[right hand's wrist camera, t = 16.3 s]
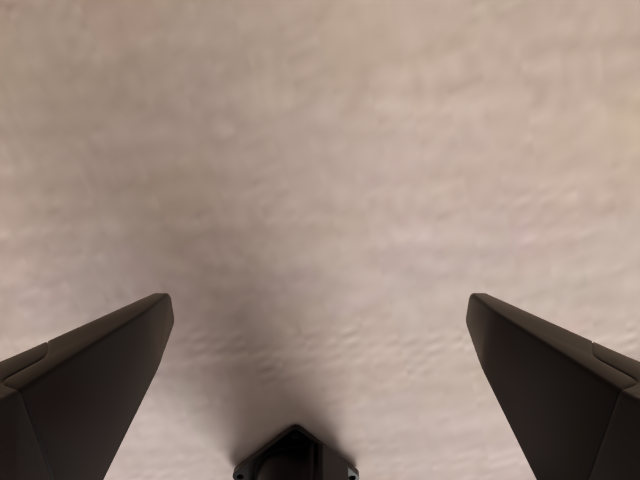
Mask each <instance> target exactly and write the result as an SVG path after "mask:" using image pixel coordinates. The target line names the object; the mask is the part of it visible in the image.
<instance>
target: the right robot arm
mask: <svg viewBox="0 0 640 480" xmlns="http://www.w3.org/2000/svg"><path fill="white" fill-rule="evenodd" d="M173 323H174V316H173V309H172V303H171V298H170V295H169V294H167V293H155V294H152V295H150V296H148V297H145V298H143V299H141V300H139V301H136V302H134V303H132V304H130V305H128V306H125V307H123V308H121V309H119V310H116V311H114V312H112V313H110V314H108V315H105V316H103V317H101V318H99V319H96V320H94V321H92V322H90V323H88V324H85V325H83V326H81V327H79V328H76V329H74V330H72V331H70V332H67V333H65V334H63V335H61V336H59V337H56V338H54V339H52V340H50V341H48V343H47V342H45V343H43V344H41V345H38V346H36V347H34V348H32V349H29V350H27V351H25V352H23V353H20V354H18V355H16V356H13V357H11V358H8V359H6V360H4V361H1V362H0V480H103V479H104V477H105V475H106V473H107V471H108V469H109V467H110V465H111V463H112V461H113V459H114V457H115V455H116V453H117V451H118V449H119V447H120V445H121V442H122V440H123V438H124V436H125V434H126V432H127V430H128V428H129V426H130V424H131V422H132V420H133V418H134V416H135V414H136V412H137V410H138V408H139V406H140V404H141V402H142V400H143V398H144V396H145V394H146V392H147V390H148V388H149V386H150V383H151V381H152V379H153V377H154V375H155V373H156V371H157V369H158V367H159V364H160V361H161V359H162V356H163V353H164V350H165V347H166V344H167V341H168V339H169V336H170V333H171V330H172V327H173ZM466 323H467V327H468V330H469V333H470V336H471V339H472V341H473V344H474V347H475V350H476V353H477V356H478V359H479V361H480V364H481V367H482V369H483V371H484V373H485V375H486V377H487V379H488V381H489V383H490V386H491V388H492V390H493V392H494V394H495V396H496V398H497V400H498V402H499V404H500V406H501V408H502V410H503V412H504V414H505V416H506V418H507V420H508V422H509V424H510V426H511V428H512V430H513V432H514V434H515V436H516V438H517V440H518V443H519V445H520V447H521V449H522V451H523V453H524V455H525V457H526V459H527V461H528V463H529V465H530V467H531V469H532V471H533V473H534V475H535V477H536V479H537V480H640V362H639V361H636V360H634V359H632V358H629V357H627V356H624V355H622V354H620V353H617V352H615V351H613V350H611V349H608V348H606V347H604V346H602V345H599V344H597V343H595V342H593V343H592V341H590V340H588V339H586V338H584V337H581V336H579V335H577V334H575V333H573V332H570V331H568V330H566V329H564V328H561V327H559V326H557V325H555V324H552V323H550V322H548V321H546V320H544V319H541V318H539V317H537V316H535V315H532V314H530V313H528V312H526V311H524V310H521V309H519V308H517V307H515V306H512V305H510V304H508V303H506V302H504V301H501V300H499V299H497V298H495V297H492V296H490V295H488V294H485V293H473V294H471V295H470V298H469V303H468V309H467V316H466ZM233 479H234V480H359V472H358V470H357V469H356V468H355V467H353V466H352V465H351V464H350V463H348V462H347V461H346V460H344V459H343V458H342V457H340V456H339V455H338V454H337V453H335V452H334V451H333V450H331V449H330V448H329V447H327V446H326V445H325V444H324V443H322V442H321V441H320V440H318V439H317V438H316V437H314V436H313V435H312V434H311V433H309V432H308V431H307V430H305V429H304V428H303V427H301V426H300V425H292V426H290V427H289V428H288V429H286V430H285V431H284V432H282V433H281V434H280V435H278V436H277V437H276V438H274V439H273V440H272V441H270V442H269V443H268V444H266V445H265V446H264V447H262V448H261V449H260V450H259V451H257V452H256V453H255V454H253V455H252V456H251V457H249V458H248V459H247V460H245V461H244V462H243V463H241V464H240V465H239V466H237V467H236V468H235V469H234V473H233Z"/></svg>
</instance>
